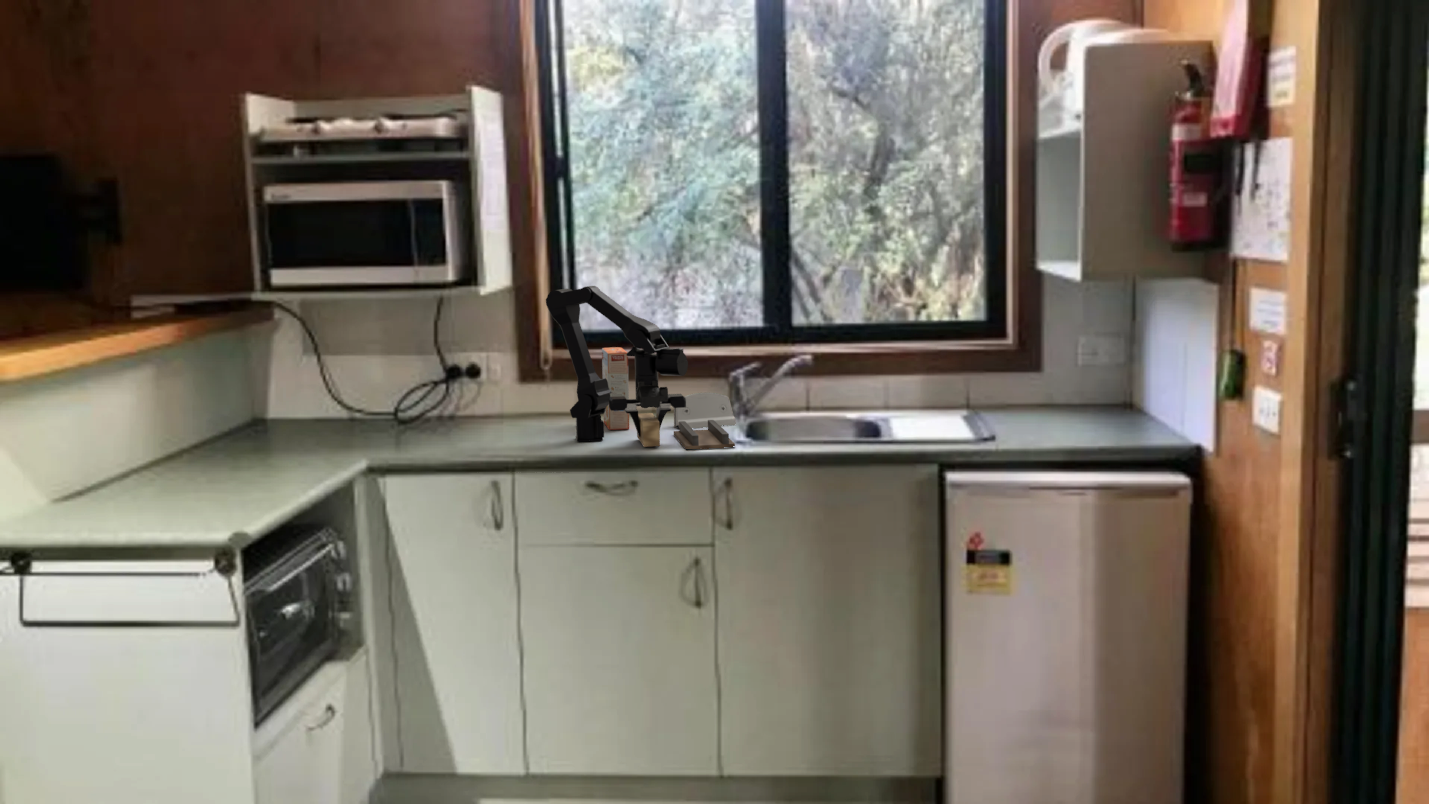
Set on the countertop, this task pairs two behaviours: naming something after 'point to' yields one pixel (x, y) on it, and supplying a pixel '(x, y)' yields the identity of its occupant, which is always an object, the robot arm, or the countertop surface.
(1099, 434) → the countertop surface
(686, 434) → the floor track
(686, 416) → the grey upright panel
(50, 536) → the countertop surface
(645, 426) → the wooden block
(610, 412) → the cracker box
